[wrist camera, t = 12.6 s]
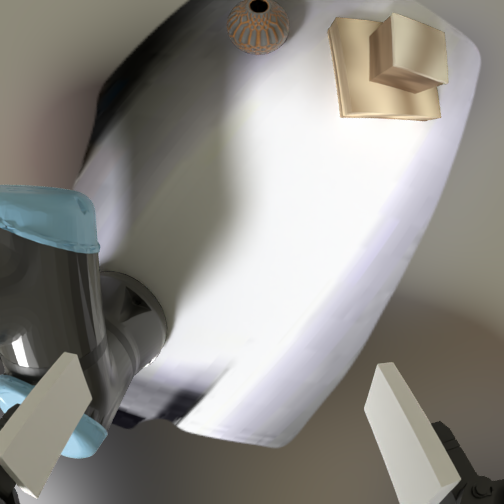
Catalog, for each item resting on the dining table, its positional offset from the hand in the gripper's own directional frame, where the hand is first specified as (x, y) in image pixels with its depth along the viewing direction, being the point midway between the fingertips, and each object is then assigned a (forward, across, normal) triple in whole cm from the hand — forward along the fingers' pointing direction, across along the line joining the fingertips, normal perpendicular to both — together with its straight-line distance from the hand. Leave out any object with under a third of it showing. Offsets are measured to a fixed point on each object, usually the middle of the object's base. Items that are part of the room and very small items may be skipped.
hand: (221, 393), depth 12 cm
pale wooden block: (+22, +17, +22) cm, 36 cm away
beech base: (+27, +17, +22) cm, 39 cm away
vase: (+27, +2, +26) cm, 37 cm away
